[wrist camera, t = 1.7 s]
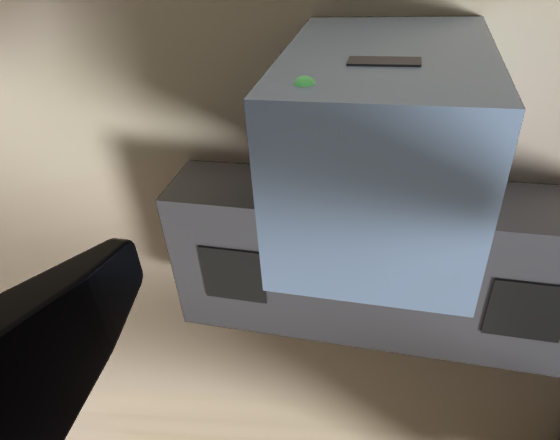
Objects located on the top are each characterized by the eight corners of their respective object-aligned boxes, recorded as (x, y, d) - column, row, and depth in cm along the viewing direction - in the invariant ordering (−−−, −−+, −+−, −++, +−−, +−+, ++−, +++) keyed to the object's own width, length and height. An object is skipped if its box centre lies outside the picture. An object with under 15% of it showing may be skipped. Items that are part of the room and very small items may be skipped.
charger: (444, 235, 18) (454, 392, 12) (314, 223, 19) (270, 362, 14) (484, 11, 13) (527, 100, 8) (310, 12, 15) (242, 91, 9)
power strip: (760, 343, 17) (815, 418, 15) (210, 274, 22) (184, 323, 20) (866, 205, 14) (961, 274, 12) (189, 160, 19) (154, 202, 16)
